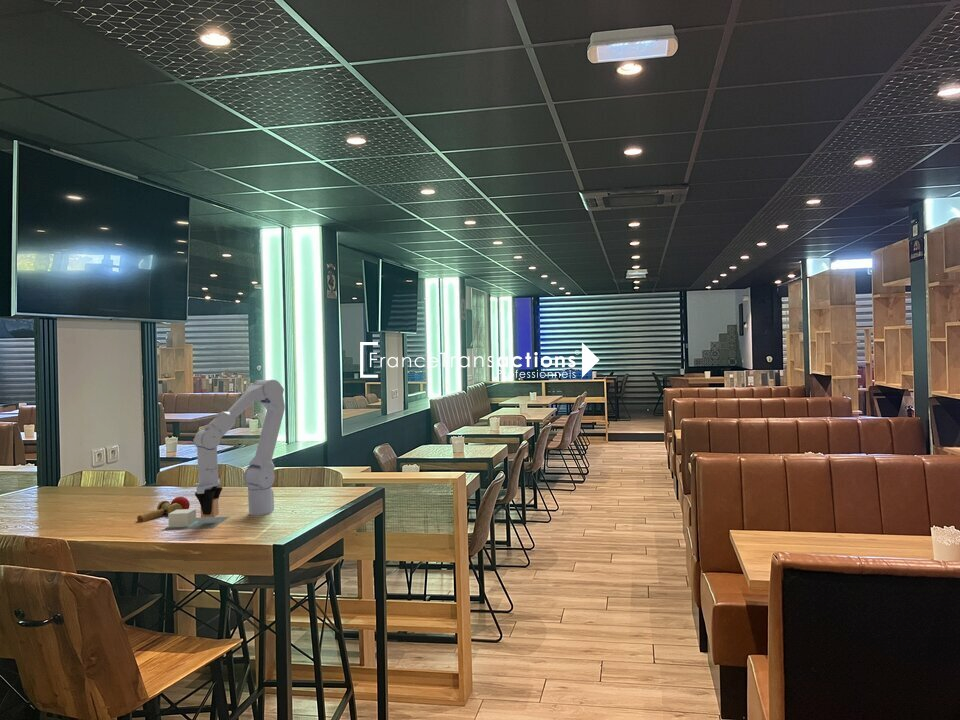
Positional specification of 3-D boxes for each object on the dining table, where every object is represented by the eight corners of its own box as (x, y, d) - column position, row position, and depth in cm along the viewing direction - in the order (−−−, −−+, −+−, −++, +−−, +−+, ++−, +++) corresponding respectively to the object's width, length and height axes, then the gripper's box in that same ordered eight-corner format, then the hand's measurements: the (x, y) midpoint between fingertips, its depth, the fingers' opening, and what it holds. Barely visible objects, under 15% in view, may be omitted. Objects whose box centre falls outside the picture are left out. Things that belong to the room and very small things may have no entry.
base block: (176, 522, 225) (176, 509, 225) (196, 521, 225) (195, 508, 225) (168, 527, 219) (168, 513, 219) (188, 526, 219) (188, 513, 219)
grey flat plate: (182, 520, 231) (182, 518, 231) (230, 519, 231) (230, 516, 231) (161, 533, 215) (161, 530, 215) (212, 531, 215) (212, 528, 215)
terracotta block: (205, 514, 225) (205, 498, 225) (218, 514, 225) (218, 498, 225) (201, 517, 221) (200, 501, 221) (214, 517, 221) (213, 500, 221)
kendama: (151, 529, 227) (197, 509, 242) (145, 510, 226) (192, 491, 242) (136, 531, 230) (182, 512, 246) (130, 512, 230) (177, 494, 246)
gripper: (203, 465, 230) (205, 508, 230) (185, 473, 216) (187, 518, 216) (225, 464, 230) (227, 507, 230) (209, 472, 216) (211, 517, 216)
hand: (209, 512), depth 223 cm, fingers closed on terracotta block, 4 cm apart
